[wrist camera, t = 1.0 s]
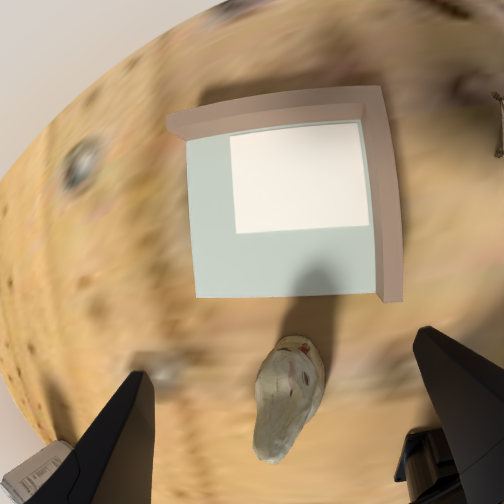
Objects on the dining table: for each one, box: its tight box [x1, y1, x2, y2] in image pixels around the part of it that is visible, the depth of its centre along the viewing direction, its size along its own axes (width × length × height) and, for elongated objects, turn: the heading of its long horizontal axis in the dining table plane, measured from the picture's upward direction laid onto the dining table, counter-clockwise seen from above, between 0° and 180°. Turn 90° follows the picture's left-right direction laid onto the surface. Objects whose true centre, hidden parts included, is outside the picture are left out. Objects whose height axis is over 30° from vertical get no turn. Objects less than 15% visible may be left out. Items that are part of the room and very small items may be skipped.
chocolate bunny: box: [253, 335, 325, 465], centre depth 16 cm, size 6×8×10 cm
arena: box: [167, 85, 403, 303], centre depth 19 cm, size 13×14×4 cm
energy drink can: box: [0, 440, 74, 504], centre depth 24 cm, size 6×6×15 cm
